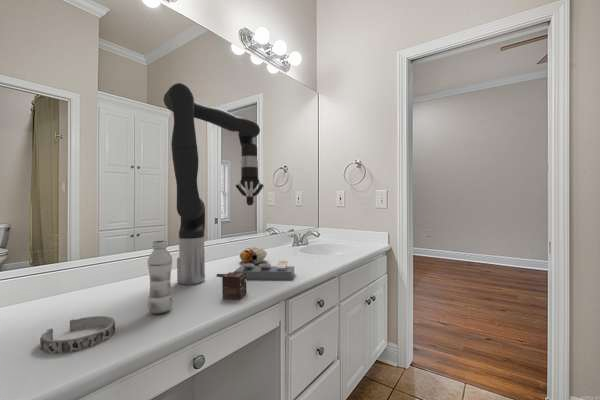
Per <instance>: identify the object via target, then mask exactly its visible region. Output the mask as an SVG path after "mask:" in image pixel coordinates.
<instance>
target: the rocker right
mask: <svg viewBox="0 0 600 400" xmlns="http://www.w3.org/2000/svg"><path fill="white" fill-rule="evenodd" d="M276 266H277V268H276V269H277V270H286V268H287V266H288V260H278V261H277V264H276Z"/></svg>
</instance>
